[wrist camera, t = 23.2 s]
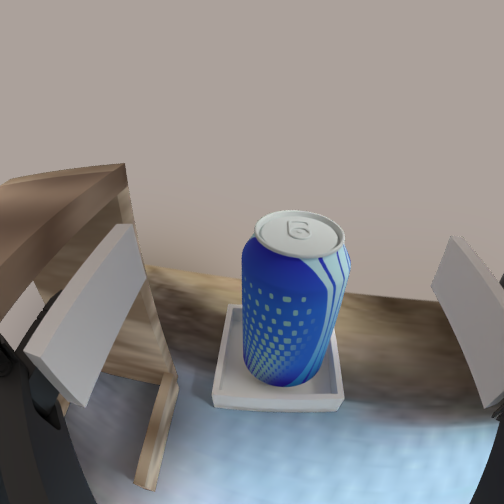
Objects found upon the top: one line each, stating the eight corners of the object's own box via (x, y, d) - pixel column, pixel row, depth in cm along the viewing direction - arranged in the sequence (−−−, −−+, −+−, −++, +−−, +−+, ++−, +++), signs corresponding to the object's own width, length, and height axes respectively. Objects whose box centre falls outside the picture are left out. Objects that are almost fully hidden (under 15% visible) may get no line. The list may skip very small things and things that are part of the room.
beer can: (334, 357, 29) (374, 231, 20) (286, 408, 24) (315, 282, 15) (278, 320, 34) (289, 197, 25) (227, 360, 29) (216, 228, 20)
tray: (326, 325, 34) (330, 308, 33) (336, 411, 24) (344, 398, 23) (229, 320, 35) (228, 303, 33) (214, 407, 25) (211, 394, 23)
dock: (84, 356, 29) (8, 179, 16) (182, 376, 28) (131, 162, 15) (44, 447, 17) (-106, 276, 5) (154, 491, 17) (-42, 326, 4)
